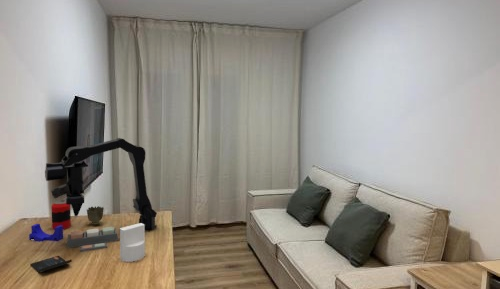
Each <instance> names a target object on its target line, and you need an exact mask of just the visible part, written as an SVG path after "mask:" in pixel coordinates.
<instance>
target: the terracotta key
mask: <svg viewBox="0 0 500 289" xmlns="http://www.w3.org/2000/svg"><path fill="white" fill-rule="evenodd" d="M83 232H84V231H83V230H75V231H73V230H72V231H70V234H71V239H76V238H83Z"/></svg>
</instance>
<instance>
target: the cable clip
mask: <svg viewBox="0 0 500 289" xmlns="http://www.w3.org/2000/svg"><path fill="white" fill-rule="evenodd" d="M28 239H29V240H31V239H34V240H35V241H34V242H40V241H42V242H45V241H50V242H60V241H62V240H63V239H64V229H63V225H59V226H57V227H55V230H54V231H53V233H52V234H49V233H46V232H44V231H43V229H42V227H41V224H40V223H35V224H33V225H31V233H29V234H28Z"/></svg>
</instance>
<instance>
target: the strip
mask: <svg viewBox="0 0 500 289" xmlns="http://www.w3.org/2000/svg"><path fill="white" fill-rule="evenodd" d="M107 243H108V242H106V243H99V244H92V245H85V246H79V252H80V253H82V252H89V251H95V250H101V249H107V248H108V244H107Z"/></svg>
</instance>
